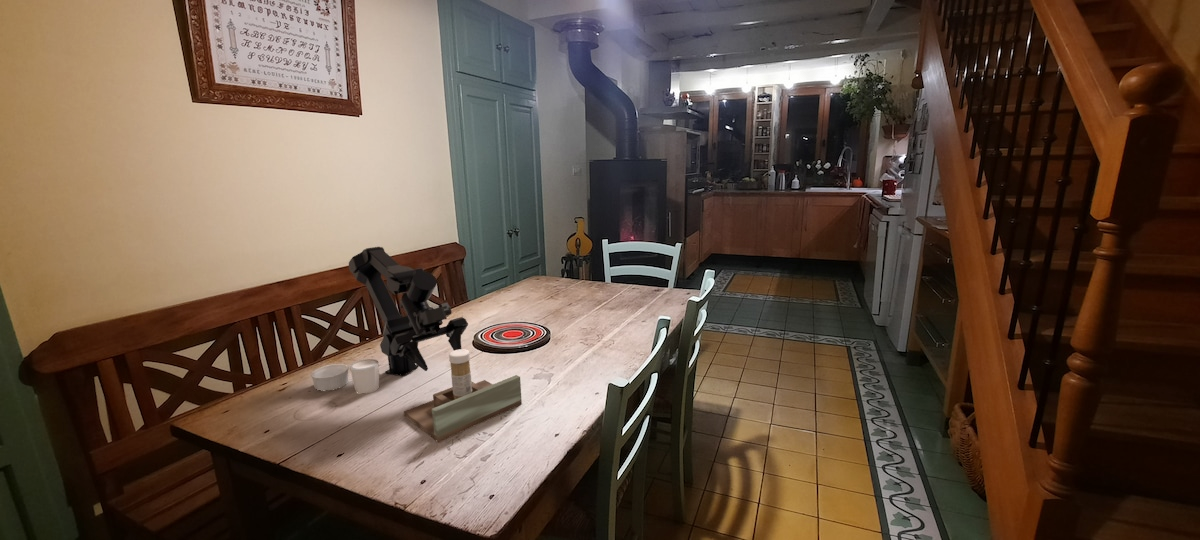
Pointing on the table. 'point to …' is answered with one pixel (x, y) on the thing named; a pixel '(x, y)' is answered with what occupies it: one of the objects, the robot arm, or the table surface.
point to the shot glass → (365, 375)
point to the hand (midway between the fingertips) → (444, 364)
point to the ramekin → (330, 377)
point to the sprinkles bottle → (460, 373)
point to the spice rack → (465, 407)
